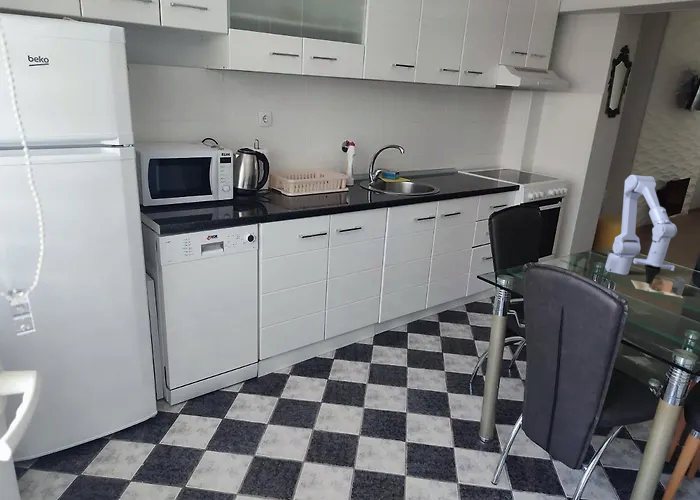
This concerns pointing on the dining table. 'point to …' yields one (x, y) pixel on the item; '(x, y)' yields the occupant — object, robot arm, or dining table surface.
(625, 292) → the dining table surface
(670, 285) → the peach matte cube
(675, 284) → the grey flat block
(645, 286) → the gauge board
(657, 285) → the brown box with peg
